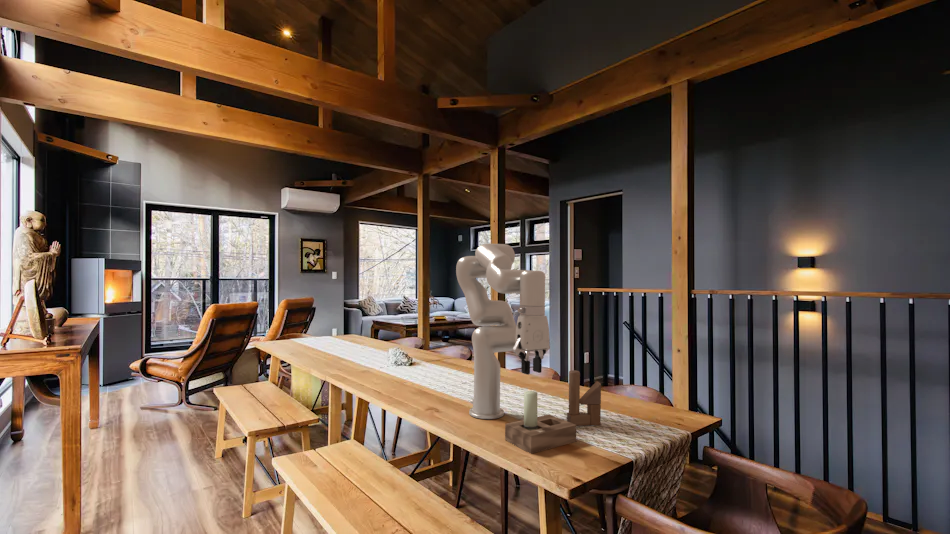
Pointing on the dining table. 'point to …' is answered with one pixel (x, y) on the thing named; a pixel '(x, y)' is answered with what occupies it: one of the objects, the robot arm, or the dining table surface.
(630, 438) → the dining table surface
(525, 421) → the peg
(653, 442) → the dining table surface
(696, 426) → the dining table surface
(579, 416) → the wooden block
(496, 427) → the dining table surface
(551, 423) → the board
